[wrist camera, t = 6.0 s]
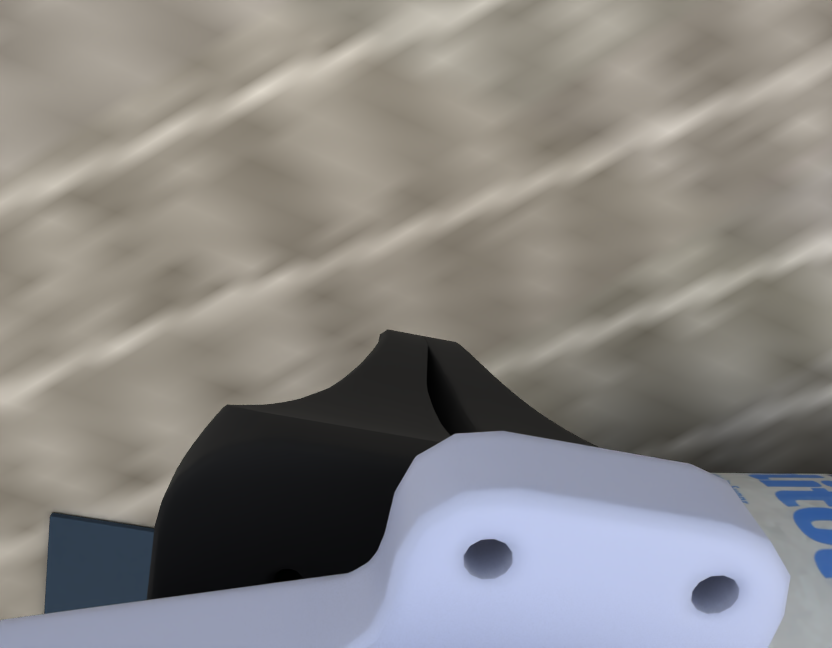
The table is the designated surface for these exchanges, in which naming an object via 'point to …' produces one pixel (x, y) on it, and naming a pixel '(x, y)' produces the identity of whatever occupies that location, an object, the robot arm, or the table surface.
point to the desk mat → (95, 563)
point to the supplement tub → (796, 547)
